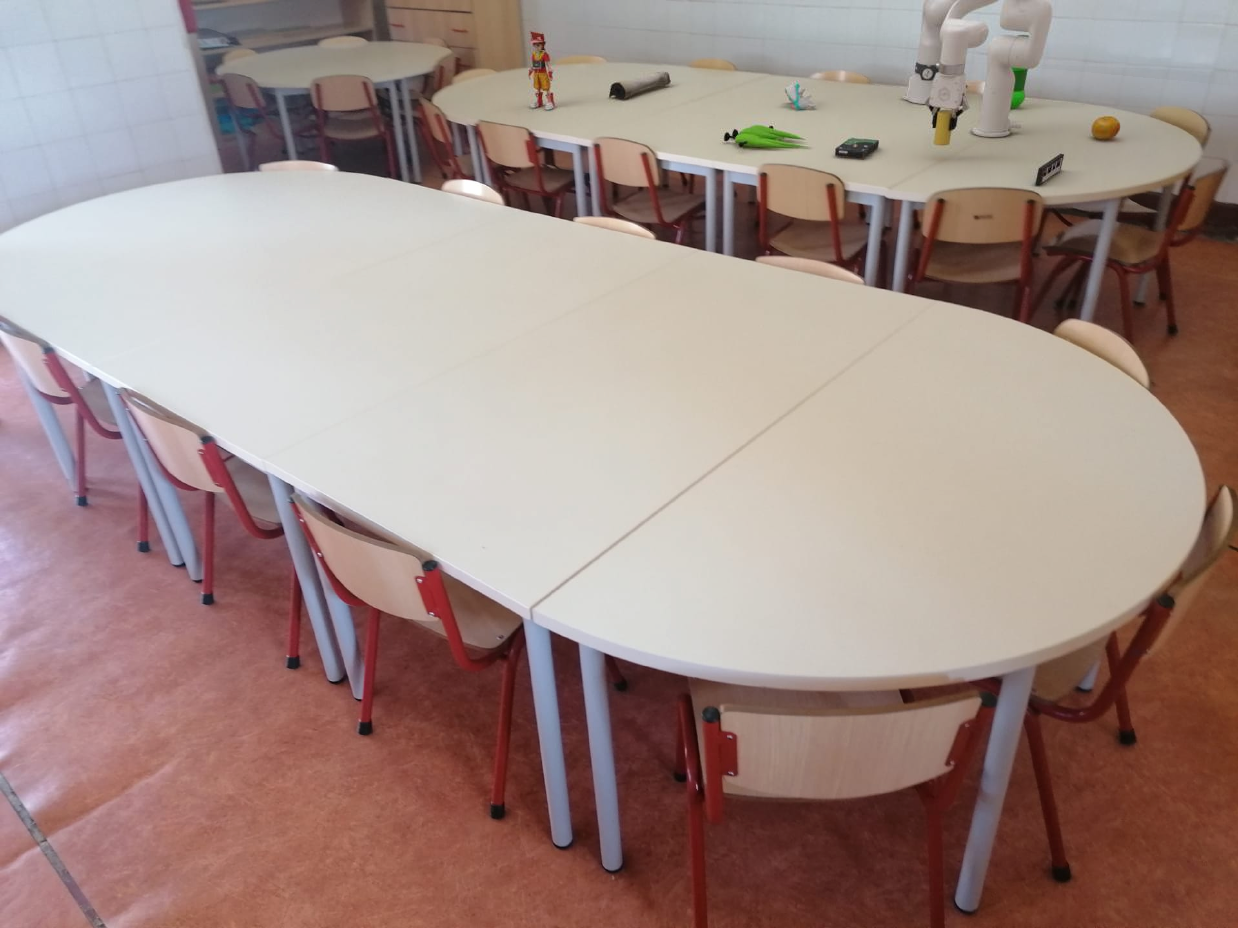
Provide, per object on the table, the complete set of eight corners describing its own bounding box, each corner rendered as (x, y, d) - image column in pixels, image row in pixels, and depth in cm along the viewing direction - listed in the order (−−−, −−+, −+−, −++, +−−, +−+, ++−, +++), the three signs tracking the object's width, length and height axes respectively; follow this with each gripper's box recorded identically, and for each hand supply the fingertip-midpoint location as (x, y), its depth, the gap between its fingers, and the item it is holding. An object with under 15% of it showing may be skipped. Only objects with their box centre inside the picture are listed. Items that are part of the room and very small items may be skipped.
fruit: (1087, 130, 301) (1105, 108, 298) (1084, 133, 309) (1101, 112, 306) (1109, 144, 300) (1127, 122, 297) (1105, 147, 308) (1122, 126, 305)
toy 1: (525, 109, 381) (517, 32, 364) (534, 104, 388) (527, 28, 371) (550, 110, 377) (543, 32, 360) (559, 105, 384) (553, 28, 367)
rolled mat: (651, 76, 408) (662, 61, 399) (662, 93, 408) (674, 79, 400) (605, 92, 391) (616, 77, 383) (617, 110, 391) (628, 95, 383)
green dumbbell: (1029, 106, 343) (1043, 35, 329) (1012, 111, 338) (1026, 39, 324) (1007, 102, 350) (1020, 32, 336) (989, 107, 345) (1002, 36, 331)
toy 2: (713, 146, 317) (792, 161, 304) (715, 131, 314) (794, 145, 301) (747, 132, 337) (821, 146, 325) (748, 118, 334) (824, 131, 322)
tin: (932, 145, 292) (937, 113, 286) (934, 141, 296) (938, 109, 290) (948, 146, 291) (953, 114, 285) (950, 141, 294) (954, 109, 289)
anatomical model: (780, 80, 363) (804, 74, 363) (784, 106, 369) (807, 100, 369) (789, 89, 351) (814, 82, 350) (792, 115, 357) (817, 109, 356)
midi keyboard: (1039, 185, 269) (1043, 168, 266) (1035, 184, 270) (1038, 168, 267) (1060, 170, 279) (1064, 154, 277) (1056, 169, 280) (1060, 153, 277)
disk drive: (864, 160, 299) (878, 148, 309) (864, 151, 297) (879, 139, 307) (834, 157, 304) (849, 145, 314) (835, 148, 302) (850, 136, 312)
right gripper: (920, 68, 283) (913, 127, 294) (971, 74, 273) (962, 135, 283) (932, 63, 287) (925, 122, 298) (983, 69, 277) (974, 129, 288)
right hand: (943, 128), depth 291 cm, fingers closed on tin, 5 cm apart
